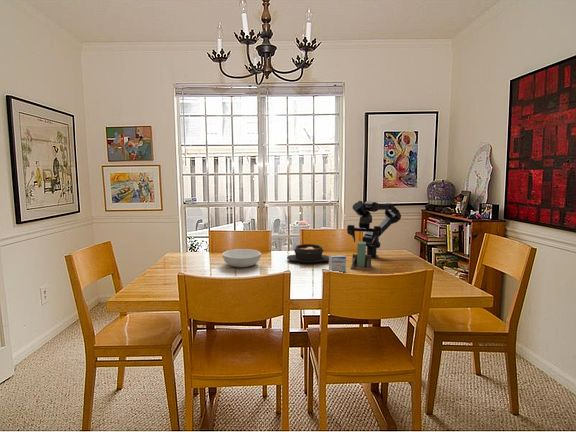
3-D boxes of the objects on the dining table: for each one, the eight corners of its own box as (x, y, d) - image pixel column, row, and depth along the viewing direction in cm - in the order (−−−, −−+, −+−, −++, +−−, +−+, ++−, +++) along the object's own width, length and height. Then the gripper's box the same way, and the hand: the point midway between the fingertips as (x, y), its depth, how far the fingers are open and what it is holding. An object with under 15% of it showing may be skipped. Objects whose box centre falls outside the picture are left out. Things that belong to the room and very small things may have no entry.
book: (357, 264, 195) (358, 241, 193) (365, 264, 194) (366, 242, 192) (356, 266, 190) (357, 243, 188) (364, 267, 189) (365, 243, 187)
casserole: (286, 265, 196) (286, 250, 195) (287, 256, 215) (287, 243, 214) (331, 265, 196) (332, 250, 195) (328, 257, 214) (329, 243, 213)
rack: (352, 264, 198) (352, 253, 197) (371, 265, 195) (371, 254, 195) (350, 269, 189) (350, 257, 188) (369, 270, 186) (370, 259, 185)
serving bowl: (224, 272, 183) (224, 259, 182) (221, 261, 203) (220, 249, 202) (264, 269, 189) (264, 256, 188) (257, 259, 209) (257, 247, 208)
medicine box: (331, 274, 180) (331, 257, 179) (328, 271, 184) (328, 255, 183) (346, 273, 182) (346, 256, 180) (342, 270, 186) (343, 254, 185)
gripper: (347, 210, 202) (345, 233, 193) (381, 211, 197) (380, 235, 188) (349, 222, 210) (346, 244, 201) (381, 223, 205) (380, 246, 196)
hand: (363, 242), depth 196 cm, fingers open, 9 cm apart
